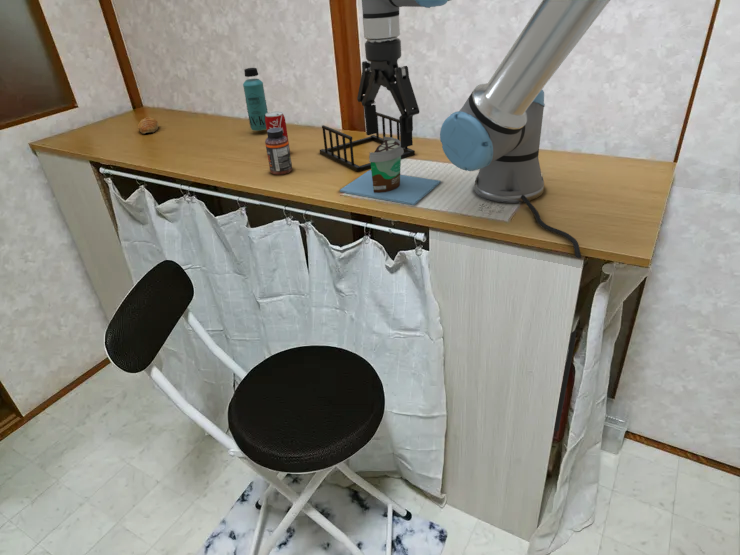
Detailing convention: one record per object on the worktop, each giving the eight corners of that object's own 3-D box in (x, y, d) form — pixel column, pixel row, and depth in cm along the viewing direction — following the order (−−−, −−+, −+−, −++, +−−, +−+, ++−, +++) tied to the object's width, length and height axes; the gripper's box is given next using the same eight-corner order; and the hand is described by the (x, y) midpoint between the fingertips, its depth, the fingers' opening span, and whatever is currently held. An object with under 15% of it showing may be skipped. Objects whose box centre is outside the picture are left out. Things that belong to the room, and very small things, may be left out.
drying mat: (440, 182, 127) (440, 180, 127) (414, 205, 117) (413, 203, 117) (369, 171, 137) (369, 169, 136) (339, 191, 127) (339, 189, 127)
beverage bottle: (250, 131, 176) (238, 67, 165) (270, 128, 177) (259, 65, 167) (252, 136, 170) (240, 71, 160) (272, 133, 172) (262, 68, 161)
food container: (397, 196, 121) (395, 154, 116) (371, 195, 123) (368, 153, 117) (410, 176, 131) (409, 136, 125) (386, 175, 132) (384, 136, 127)
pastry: (159, 133, 182) (155, 121, 180) (138, 136, 180) (134, 125, 178) (159, 126, 189) (156, 115, 187) (139, 129, 188) (136, 118, 186)
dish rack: (414, 154, 145) (413, 123, 141) (357, 172, 137) (354, 139, 133) (373, 138, 160) (372, 110, 155) (319, 153, 152) (316, 124, 147)
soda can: (272, 158, 151) (265, 116, 144) (270, 152, 155) (262, 111, 149) (291, 155, 152) (285, 113, 145) (288, 150, 156) (282, 108, 150)
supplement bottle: (268, 170, 143) (260, 128, 137) (289, 165, 145) (283, 124, 139) (272, 177, 138) (265, 134, 132) (295, 172, 140) (288, 130, 134)
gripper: (435, 40, 102) (436, 147, 113) (364, 32, 120) (371, 125, 131) (404, 46, 99) (408, 156, 110) (336, 37, 117) (346, 132, 128)
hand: (388, 139), depth 121 cm, fingers open, 13 cm apart
